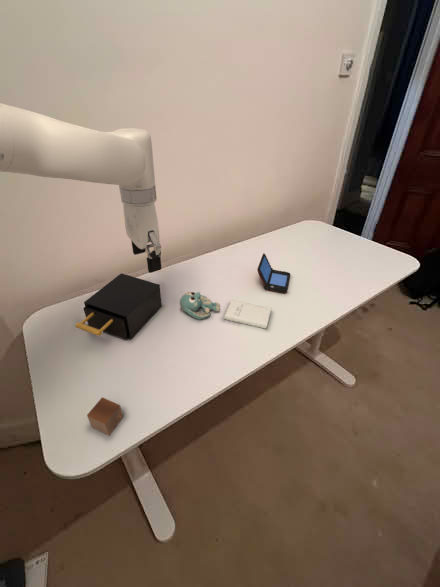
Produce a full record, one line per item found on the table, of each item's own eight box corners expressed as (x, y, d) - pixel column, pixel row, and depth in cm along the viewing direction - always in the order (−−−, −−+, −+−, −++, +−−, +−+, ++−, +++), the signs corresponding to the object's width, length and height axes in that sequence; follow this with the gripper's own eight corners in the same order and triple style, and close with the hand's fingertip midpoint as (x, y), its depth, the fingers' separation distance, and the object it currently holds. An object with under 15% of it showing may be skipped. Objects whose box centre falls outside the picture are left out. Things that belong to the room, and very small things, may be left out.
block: (109, 436, 60) (105, 423, 57) (91, 427, 61) (86, 415, 58) (123, 417, 63) (120, 404, 60) (106, 409, 64) (102, 396, 62)
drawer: (111, 354, 75) (106, 336, 71) (72, 339, 79) (66, 321, 75) (156, 307, 90) (154, 290, 86) (121, 296, 94) (118, 279, 90)
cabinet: (131, 339, 81) (126, 316, 76) (90, 324, 85) (83, 302, 80) (162, 306, 92) (160, 284, 87) (125, 294, 96) (121, 273, 91)
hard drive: (266, 329, 86) (224, 319, 88) (270, 311, 92) (231, 303, 95) (267, 325, 85) (224, 315, 87) (271, 307, 91) (231, 299, 94)
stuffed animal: (223, 308, 84) (180, 301, 82) (217, 326, 88) (176, 320, 86) (222, 285, 93) (183, 278, 91) (217, 303, 97) (179, 297, 95)
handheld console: (286, 295, 99) (290, 276, 95) (254, 288, 102) (256, 269, 97) (290, 275, 109) (294, 257, 105) (261, 269, 111) (263, 251, 107)
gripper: (108, 184, 69) (120, 250, 80) (136, 210, 58) (146, 283, 68) (139, 180, 73) (147, 243, 83) (172, 203, 62) (176, 274, 72)
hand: (147, 261), depth 76 cm, fingers open, 9 cm apart
